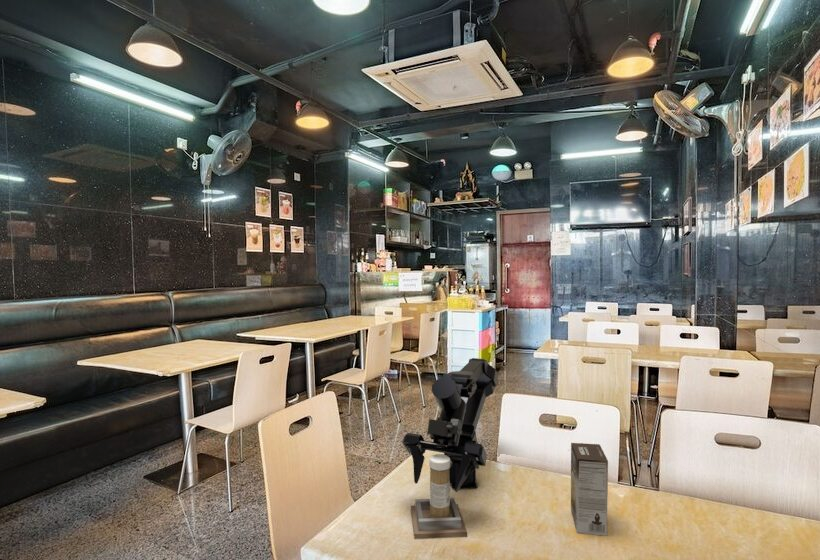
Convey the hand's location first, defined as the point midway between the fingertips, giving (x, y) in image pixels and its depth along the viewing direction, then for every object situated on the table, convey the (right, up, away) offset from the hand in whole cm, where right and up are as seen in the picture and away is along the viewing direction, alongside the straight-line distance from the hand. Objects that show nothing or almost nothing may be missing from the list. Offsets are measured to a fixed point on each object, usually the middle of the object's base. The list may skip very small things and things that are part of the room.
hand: (435, 486), depth 96 cm
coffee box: (+34, -9, +1) cm, 35 cm away
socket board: (+1, -9, +1) cm, 9 cm away
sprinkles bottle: (+1, -8, +1) cm, 8 cm away
